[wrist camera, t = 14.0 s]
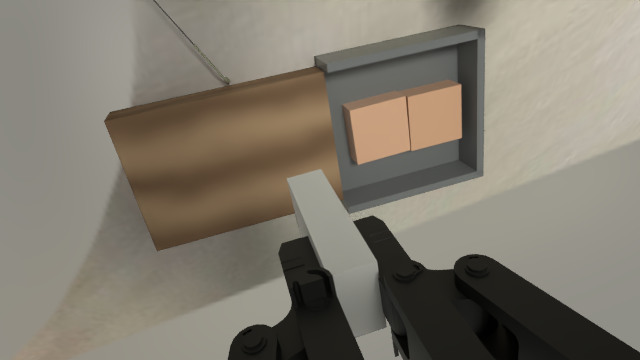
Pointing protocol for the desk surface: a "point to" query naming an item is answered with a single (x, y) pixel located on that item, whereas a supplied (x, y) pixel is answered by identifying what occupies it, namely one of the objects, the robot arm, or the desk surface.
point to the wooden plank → (225, 154)
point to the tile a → (377, 126)
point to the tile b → (433, 113)
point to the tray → (400, 74)
